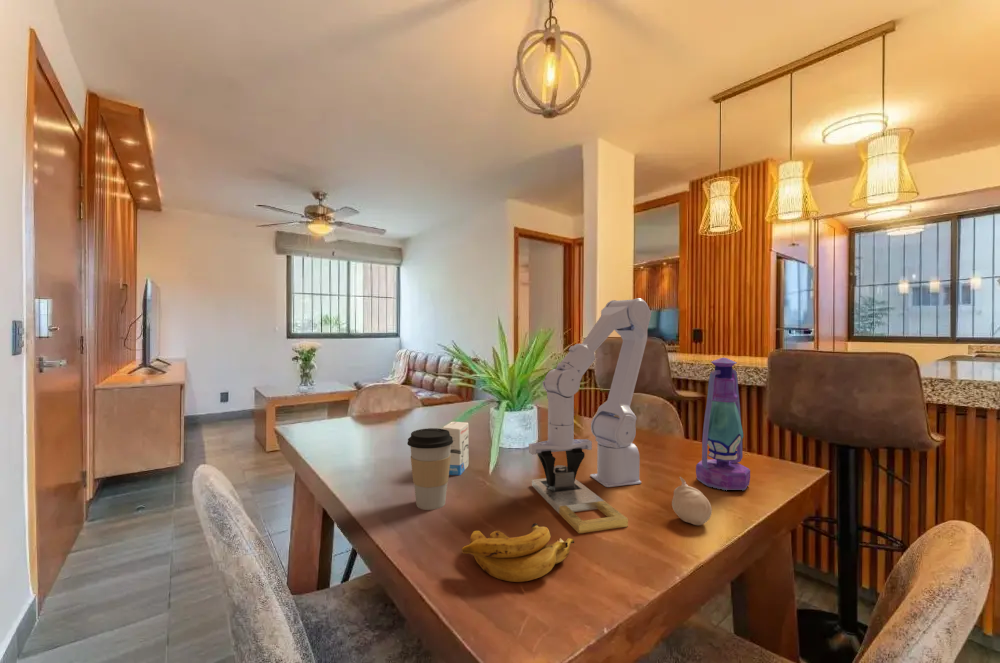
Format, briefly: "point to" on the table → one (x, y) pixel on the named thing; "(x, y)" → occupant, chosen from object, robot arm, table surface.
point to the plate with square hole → (581, 507)
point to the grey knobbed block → (562, 479)
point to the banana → (517, 554)
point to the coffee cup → (430, 466)
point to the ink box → (458, 447)
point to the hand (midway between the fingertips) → (560, 483)
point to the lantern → (723, 432)
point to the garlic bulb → (691, 504)
